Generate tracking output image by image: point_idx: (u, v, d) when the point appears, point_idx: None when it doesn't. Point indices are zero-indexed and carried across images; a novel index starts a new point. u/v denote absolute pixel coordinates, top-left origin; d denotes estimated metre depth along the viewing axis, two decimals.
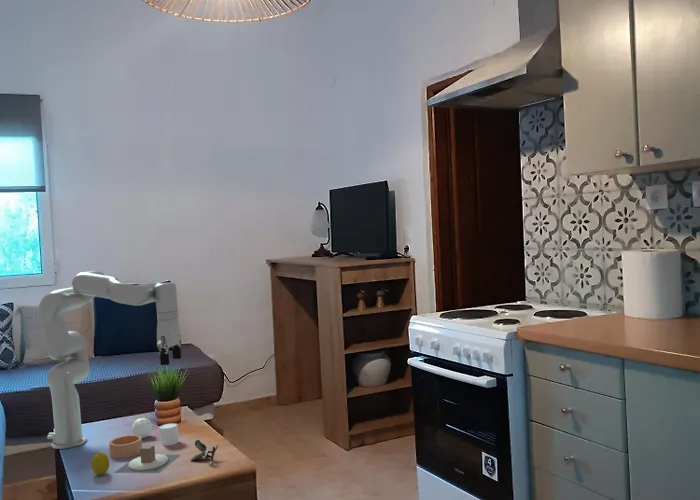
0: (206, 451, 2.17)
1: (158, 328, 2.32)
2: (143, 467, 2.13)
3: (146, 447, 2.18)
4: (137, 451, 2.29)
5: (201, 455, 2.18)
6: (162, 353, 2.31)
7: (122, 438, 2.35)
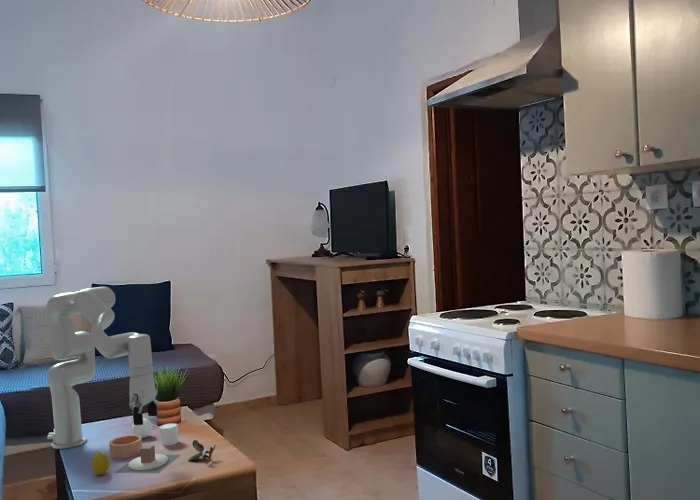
0: (203, 451, 2.17)
1: (131, 385, 2.13)
2: (143, 467, 2.13)
3: (146, 447, 2.18)
4: (137, 451, 2.29)
5: (198, 455, 2.18)
6: (135, 412, 2.12)
7: (122, 438, 2.35)
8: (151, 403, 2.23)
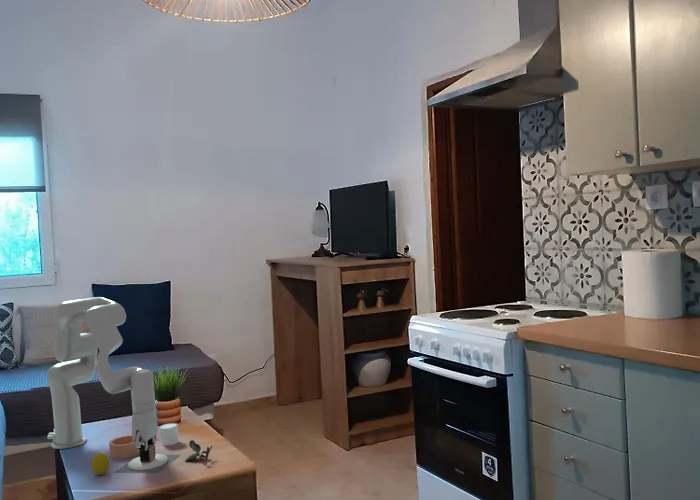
0: (200, 451, 2.17)
1: (133, 421, 2.14)
2: (143, 467, 2.13)
3: None
4: (137, 451, 2.29)
5: (195, 455, 2.18)
6: (142, 450, 2.16)
7: (122, 438, 2.35)
8: (149, 442, 2.21)
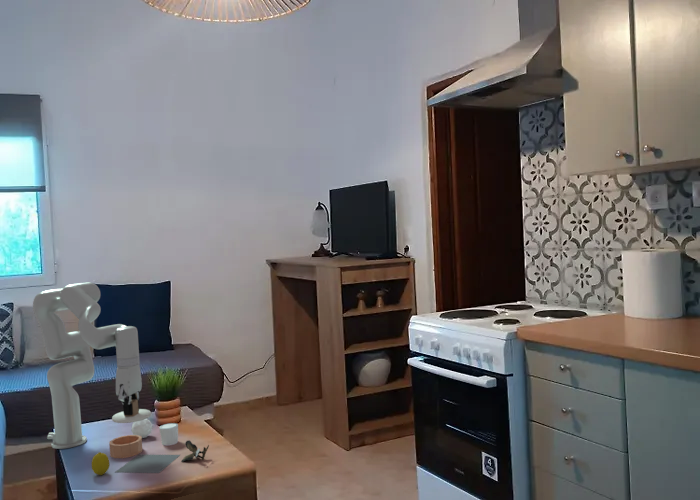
0: (197, 451, 2.17)
1: (117, 375, 2.20)
2: (126, 420, 2.20)
3: None
4: (137, 451, 2.29)
5: (192, 455, 2.18)
6: (125, 404, 2.22)
7: (122, 438, 2.35)
8: (133, 397, 2.27)
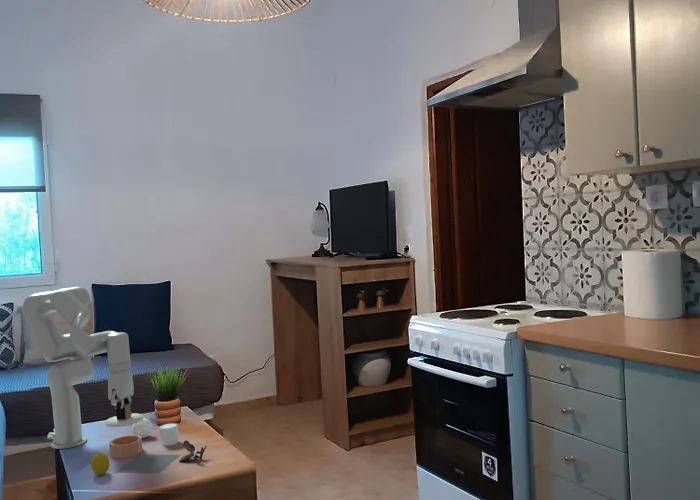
0: (195, 452, 2.17)
1: (109, 380, 2.26)
2: (119, 423, 2.25)
3: None
4: (137, 451, 2.29)
5: (190, 456, 2.18)
6: (118, 408, 2.27)
7: (122, 438, 2.35)
8: (126, 402, 2.32)
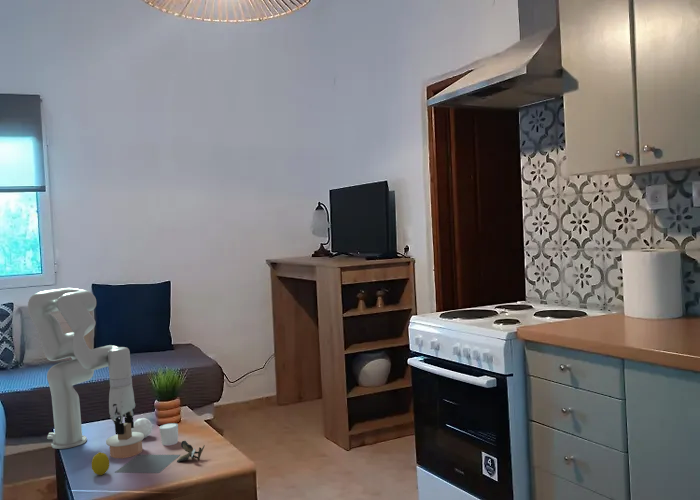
0: (193, 452, 2.17)
1: (110, 395, 2.26)
2: (120, 443, 2.26)
3: None
4: (137, 451, 2.29)
5: (187, 456, 2.18)
6: (117, 423, 2.26)
7: None
8: (128, 415, 2.34)
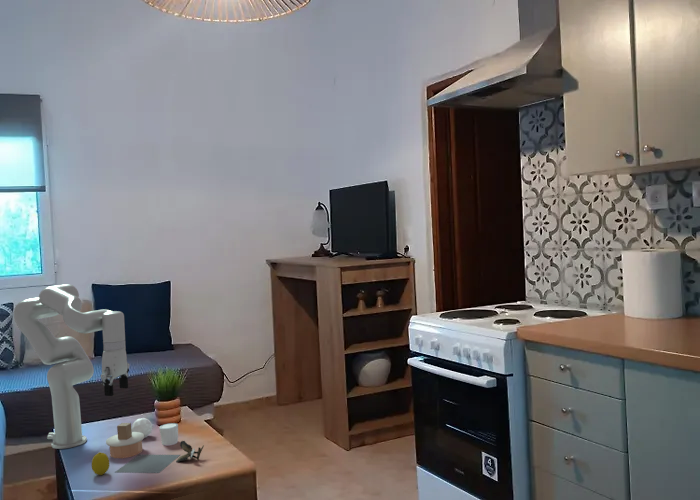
0: (192, 452, 2.17)
1: (103, 358, 2.28)
2: (120, 443, 2.26)
3: (123, 424, 2.30)
4: (137, 451, 2.29)
5: (187, 456, 2.18)
6: (106, 384, 2.27)
7: None
8: (123, 376, 2.37)
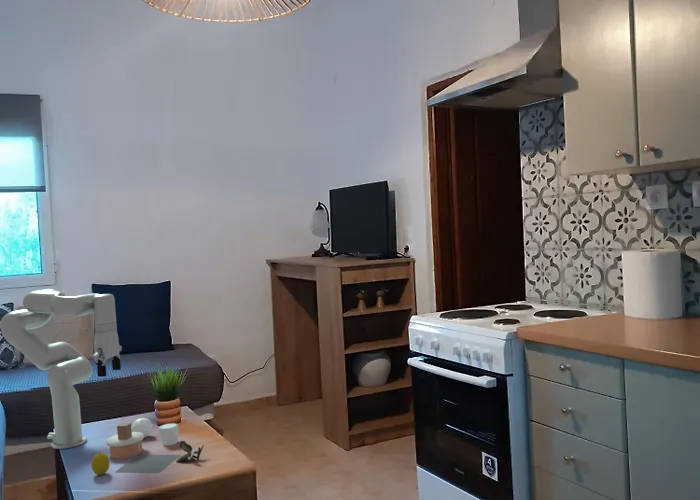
0: (192, 452, 2.17)
1: (95, 340, 2.33)
2: (120, 443, 2.26)
3: (123, 424, 2.30)
4: (137, 451, 2.29)
5: (187, 456, 2.18)
6: (99, 365, 2.31)
7: None
8: (115, 358, 2.42)
